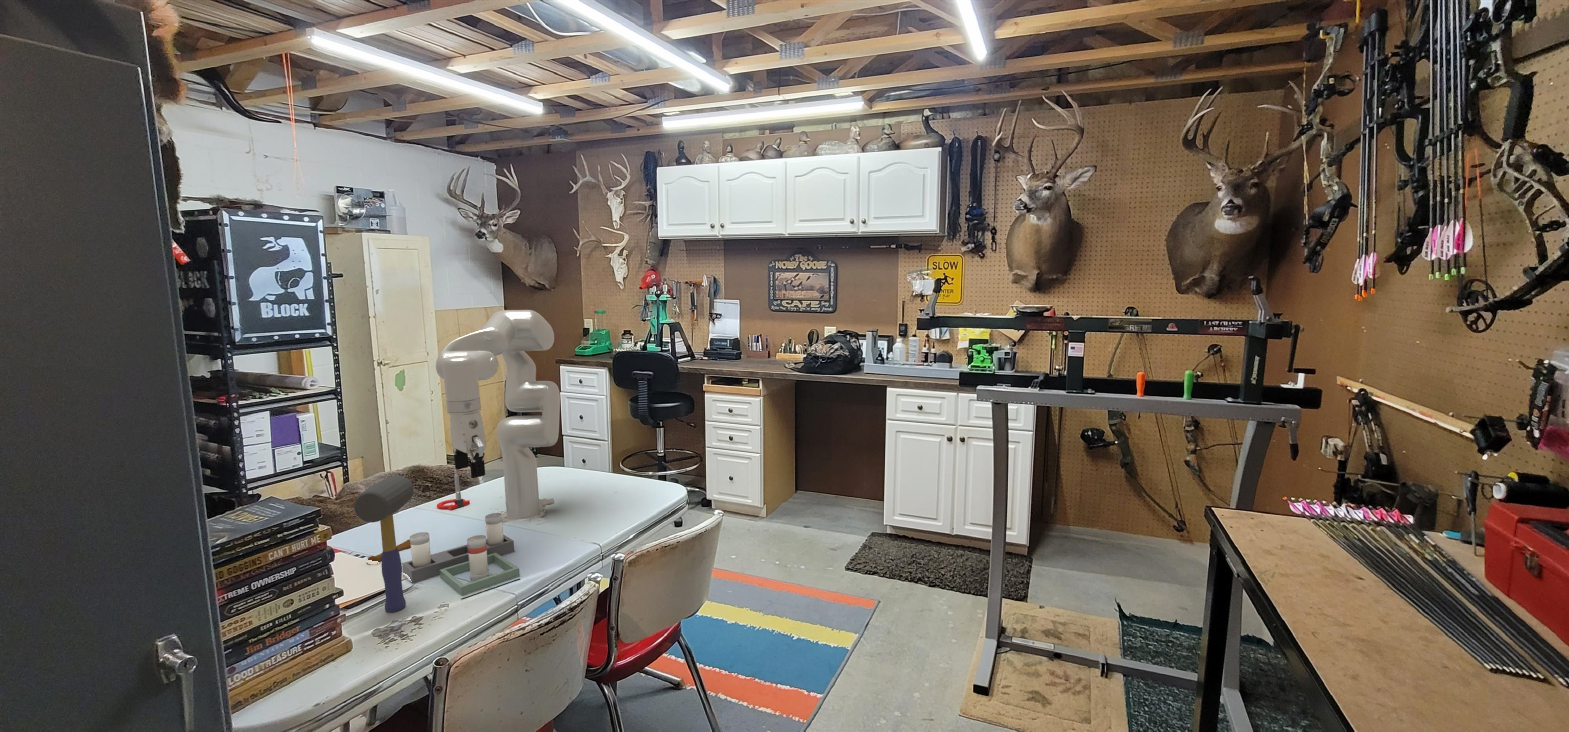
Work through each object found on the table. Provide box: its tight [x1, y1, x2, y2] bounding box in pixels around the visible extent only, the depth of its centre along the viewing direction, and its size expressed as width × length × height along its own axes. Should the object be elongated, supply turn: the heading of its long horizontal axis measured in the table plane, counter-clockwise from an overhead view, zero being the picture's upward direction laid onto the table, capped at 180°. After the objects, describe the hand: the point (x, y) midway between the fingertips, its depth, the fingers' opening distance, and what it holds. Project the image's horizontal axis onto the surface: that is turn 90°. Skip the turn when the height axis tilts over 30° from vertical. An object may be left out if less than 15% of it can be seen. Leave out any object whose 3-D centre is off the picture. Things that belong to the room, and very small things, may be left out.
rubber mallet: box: [353, 475, 415, 613], centre depth 143 cm, size 12×8×30 cm, turn 5°
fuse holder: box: [401, 533, 515, 584], centre depth 168 cm, size 25×7×4 cm, turn 136°
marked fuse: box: [466, 534, 490, 582], centre depth 159 cm, size 4×4×10 cm
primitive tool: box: [367, 538, 411, 563], centre depth 176 cm, size 19×6×4 cm, turn 177°
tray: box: [439, 553, 521, 601], centre depth 159 cm, size 14×14×3 cm
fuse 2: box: [484, 512, 504, 546], centre depth 173 cm, size 4×4×10 cm
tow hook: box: [436, 468, 471, 511], centre depth 214 cm, size 8×13×9 cm
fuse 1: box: [409, 531, 432, 569], centre depth 161 cm, size 4×4×10 cm
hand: (470, 472), depth 164 cm, fingers open, 9 cm apart
